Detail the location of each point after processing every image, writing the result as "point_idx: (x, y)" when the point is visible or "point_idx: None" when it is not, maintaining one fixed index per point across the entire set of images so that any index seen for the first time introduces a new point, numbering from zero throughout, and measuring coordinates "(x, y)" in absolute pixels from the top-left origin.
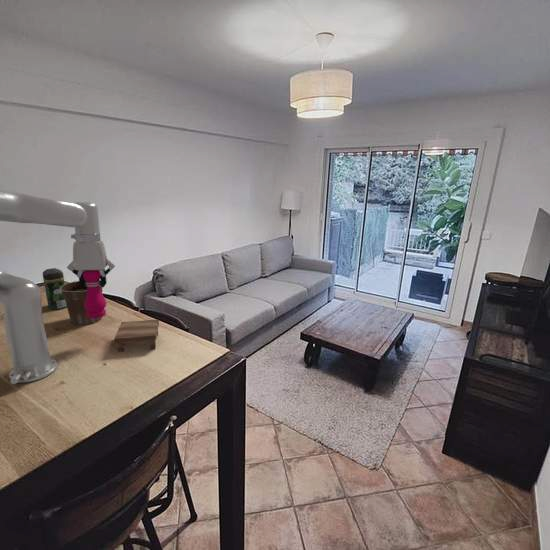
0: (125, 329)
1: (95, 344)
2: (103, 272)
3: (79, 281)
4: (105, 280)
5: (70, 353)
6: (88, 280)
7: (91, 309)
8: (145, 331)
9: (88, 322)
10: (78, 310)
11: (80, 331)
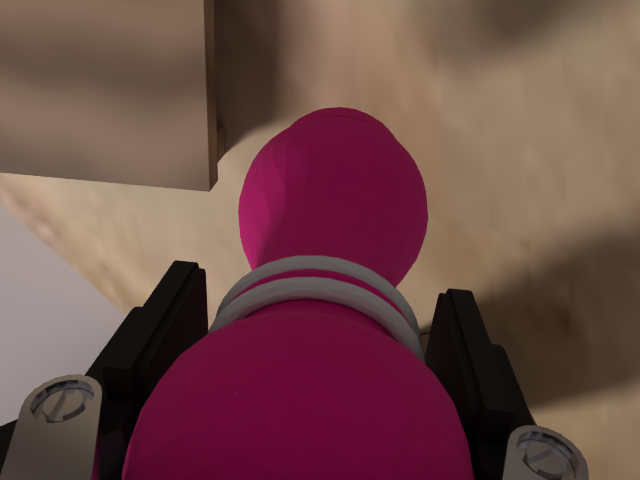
0: (157, 63)
1: (363, 92)
2: (16, 456)
3: (512, 379)
4: (112, 349)
5: (486, 11)
6: (356, 322)
7: (356, 120)
8: None
9: (423, 338)
10: None
11: (455, 269)
